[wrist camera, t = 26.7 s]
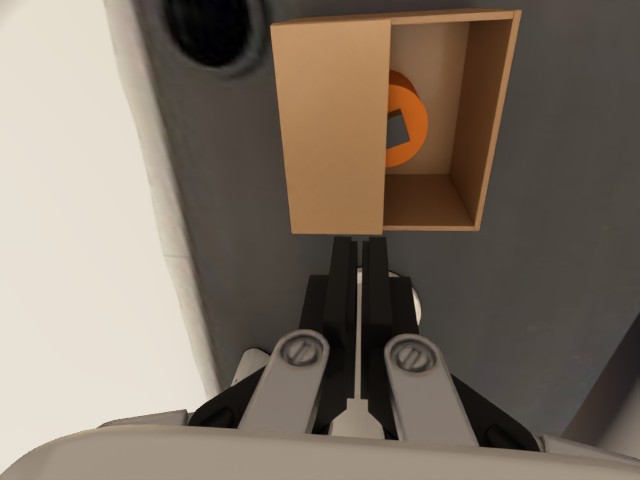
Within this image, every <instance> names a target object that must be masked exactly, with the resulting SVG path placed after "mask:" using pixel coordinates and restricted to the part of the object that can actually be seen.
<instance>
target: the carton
mask: <svg viewBox="0 0 640 480" xmlns="http://www.w3.org/2000/svg"><path fill="white" fill-rule="evenodd" d="M521 13H522V10H511V9H492V8H460V9H442V10H425V11H407V12H389V13H372V14H354V15H337V16H319V17H301V18H295V19H291V20H287V21H282V22H278V23H274V24H272V25H284V24H302V23H320V22H338V21H357V20H375V19H391V39H390V63H389V70H394V71H397V72H399V73H401V74H403V75H404V76H405V77H407V78H408V79H409V80H410V82H411V83H412V84H413V86H414V88H415V90H416V92H417V94H418V96H419V97H420V99H421V101H422V103H423V105H424V107H425V109H426V112H427V117H428V130H427V135H426V138H425V141H424V143H423V145H422V146H421V148H420V149H419V150H418V152H417V153H416V154H415V155H414V156H413V157H412V158H410V159H409V160H408V161H406V162H404V163H402V164H400V165H397V166H393V167H388V168H385V186H384V211H383V230H441V231H473V230H474V231H479V228H480V223H481V218H482V213H483V208H484V203H485V197H486V192H487V187H488V182H489V177H490V172H491V167H492V161H493V156H494V151H495V146H496V141H497V136H498V131H499V126H500V120H501V115H502V110H503V105H504V100H505V95H506V90H507V84H508V79H509V74H510V69H511V64H512V59H513V54H514V49H515V43H516V38H517V33H518V28H519V23H520V18H521Z"/></svg>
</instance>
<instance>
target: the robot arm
mask: <svg viewBox="0 0 640 480" xmlns="http://www.w3.org/2000/svg"><path fill="white" fill-rule="evenodd" d="M420 318H421V306H420V301H419V298H418V296H417V293H416V292H415V290H414V289H413V288H412V284H411V279H410V277H400V276H398V275H396V274H394V273H391V272H389V270H388V257H387V244H386V237H369V241H363V251H362V268H357V241H351V237H335V238H334V244H333V251H332V258H331V265H330V272H329V275H310V278H309V282H308V287H307V291H306V296H305V301H304V305H303V310H302V315H301V320H300V324H299V329H298V330H295V331H292V332H290V333H288V334H286V335H284V336H283V337H282V338H281V339H280V340H279V341H278V343H277V344H276V346H275V348H274V350H273V353H272V355H271V357H270V359H269V361H268V363H267V365H265V366H264V367H262V368H260V369H259V370H257V371H256V372H254V373H252V374H251V375H249V376H248V377H246V378H244V379H243V380H241V381H240V382H238V383H236V384H235V385H233V386H232V387H230V388H228V389H227V390H225V391H224V392H222V393H220V394H219V395H217V396H216V397H214V398H213V399H211V400H209V401H208V402H206V403H205V404H203V405H202V406H201V407H200V408H198V409H197V410H196V411H195V412H192V413H187V410H186V409H184V410H178V411H171V412H164V413H158V414H151V415H144V416H138V417H132V418H125V419H118V420H113V421H110V422H107V423H104V424H102V425H101V426H99V427H97V428H96V429H90V430H85V431H81V432H78V433H74V434H71V435H67V436H64V437H61V438H58V439H55V440H53V441H51V442H48V443H46V444H44V445H41V446H39V447H37V448H35V449H33V450H32V451H30V452H28V453H27V454H25V455H23V456H22V457H21V458H20V459H18V460H17V461H16V462H14V463H13V464H12V465H11V466H10V467H9V468H8V469H6V470H5V471H4V472H3V473H2V474H1V475H0V480H640V460H639V459H637V458H634V457H630V456H626V455H622V454H619V453H615V452H611V451H607V450H604V449H600V448H596V447H593V446H589V445H585V444H581V443H577V442H573V441H570V440H566V439H562V438H559V437H555V436H551V435H548V434H543V436H542V438H541V437H537V436H534V435H532V434H531V433H530V432H529V431H528V430H527V429H526V428H525V427H524V426H522V425H521V424H520V423H519V422H517V421H516V420H514V419H513V418H512V417H510V416H509V415H508V414H506V413H505V412H503V411H502V410H501V409H499V408H498V407H496V406H495V405H494V404H492V403H491V402H489V401H488V400H487V399H485V398H484V397H483V396H481V395H480V394H478V393H477V392H476V391H474V390H473V389H471V388H470V387H469V386H467V385H466V384H465V383H463V382H462V381H460V380H459V379H458V378H456V377H455V376H453V375H452V374H451V373H449V370H448V368H447V365H446V363H445V360H444V358H443V355H442V353H441V351H440V349H439V348H438V346H437V345H436V344H435V343H434V342H432V341H431V340H430V339H428V338H426V337H424V336H421V335H419V330H418V325H419V322H420Z"/></svg>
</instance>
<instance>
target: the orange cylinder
mask: <svg viewBox="0 0 640 480" xmlns="http://www.w3.org/2000/svg"><path fill="white" fill-rule="evenodd" d="M427 130H428V117H427V112H426V109H425V107H424V105H423V103H422V101H421V99H420V97H419V96H418V94H417V92H416V90H415V88H414V86H413V84H412V83H411V82H410V80H409V79H408V78H407V77H405V76H404V75H403V74H401V73H399V72H397V71H394V70H389V88H388V112H387V137H386V161H385V168H388V167H393V166H397V165H400V164H402V163H404V162H406V161H408V160H409V159H410V158H412V157H413V156H414V155H415V154H416V153H417V152H418V150H419V149H420V148H421V146H422V145H423V143H424V141H425V138H426V135H427Z"/></svg>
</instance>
